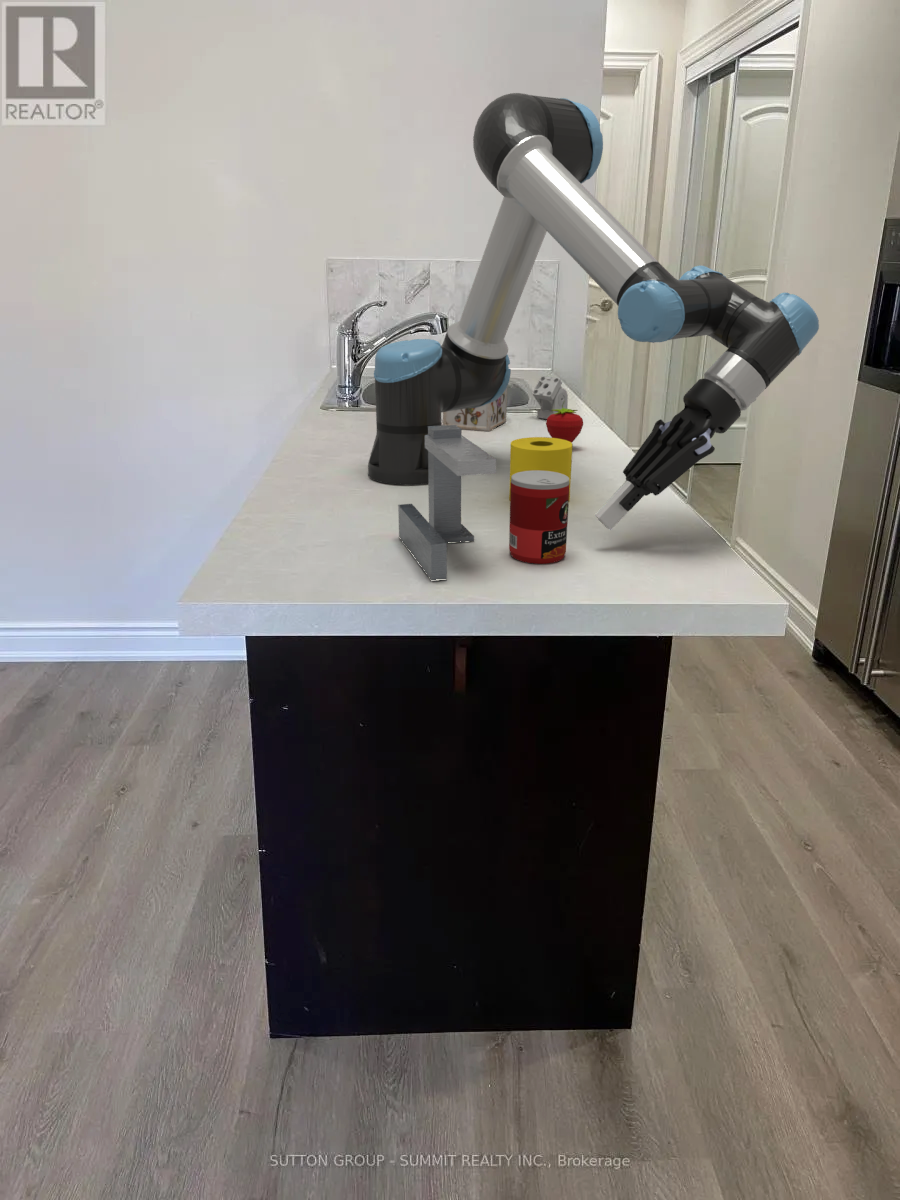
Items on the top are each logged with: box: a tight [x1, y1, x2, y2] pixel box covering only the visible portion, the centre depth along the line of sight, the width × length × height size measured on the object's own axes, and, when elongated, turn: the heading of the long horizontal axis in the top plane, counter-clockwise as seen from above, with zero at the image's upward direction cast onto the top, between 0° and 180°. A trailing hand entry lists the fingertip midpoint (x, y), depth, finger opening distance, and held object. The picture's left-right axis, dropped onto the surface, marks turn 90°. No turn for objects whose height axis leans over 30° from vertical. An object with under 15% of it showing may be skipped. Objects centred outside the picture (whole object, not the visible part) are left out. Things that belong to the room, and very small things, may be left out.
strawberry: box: [545, 401, 584, 444], centre depth 183 cm, size 6×8×10 cm
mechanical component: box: [531, 375, 569, 420], centre depth 213 cm, size 5×8×10 cm
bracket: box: [397, 424, 497, 581], centre depth 122 cm, size 10×20×16 cm, turn 16°
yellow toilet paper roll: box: [508, 436, 573, 503], centre depth 149 cm, size 10×10×9 cm
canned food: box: [508, 470, 571, 565], centre depth 122 cm, size 8×8×11 cm
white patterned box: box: [442, 387, 508, 432], centre depth 205 cm, size 12×12×18 cm
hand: (602, 522), depth 125 cm, fingers closed
